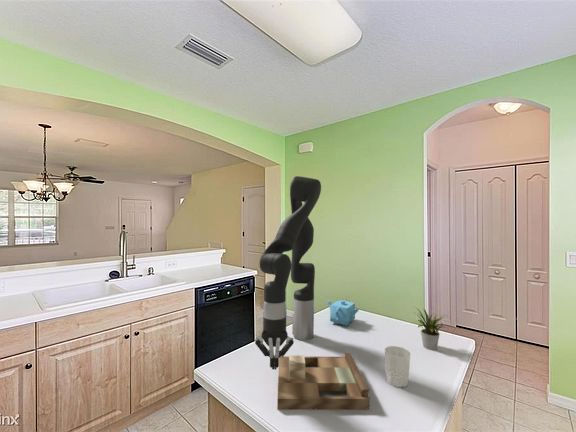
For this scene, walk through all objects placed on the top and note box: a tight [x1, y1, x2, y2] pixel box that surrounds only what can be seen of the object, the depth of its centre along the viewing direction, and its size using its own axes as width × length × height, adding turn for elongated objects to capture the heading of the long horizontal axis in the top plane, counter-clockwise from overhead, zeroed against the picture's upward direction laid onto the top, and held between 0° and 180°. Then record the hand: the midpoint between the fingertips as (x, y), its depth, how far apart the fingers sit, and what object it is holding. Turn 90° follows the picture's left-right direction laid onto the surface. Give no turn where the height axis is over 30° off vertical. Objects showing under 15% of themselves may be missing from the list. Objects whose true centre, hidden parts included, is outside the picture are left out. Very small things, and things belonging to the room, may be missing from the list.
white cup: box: [384, 345, 411, 388], centre depth 93 cm, size 8×8×10 cm
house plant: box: [413, 306, 447, 351], centre depth 119 cm, size 14×14×16 cm
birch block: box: [288, 355, 305, 379], centre depth 91 cm, size 5×5×5 cm
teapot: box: [325, 299, 360, 328], centre depth 145 cm, size 16×18×11 cm
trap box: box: [276, 352, 370, 410], centre depth 91 cm, size 26×24×5 cm
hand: (274, 368), depth 91 cm, fingers closed
